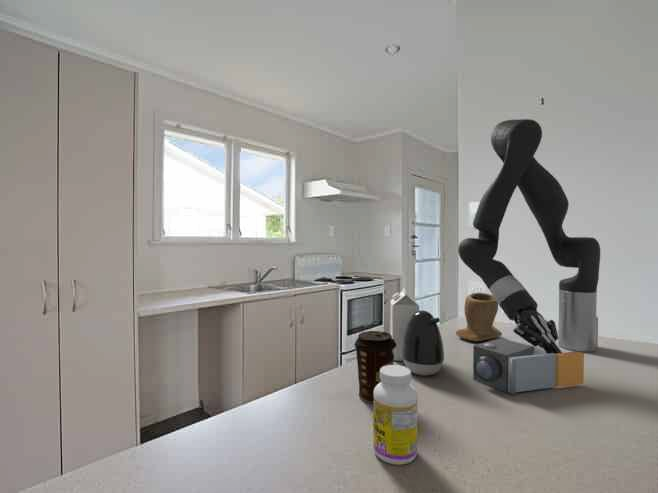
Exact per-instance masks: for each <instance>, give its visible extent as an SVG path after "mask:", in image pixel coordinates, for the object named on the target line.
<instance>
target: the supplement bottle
mask: <svg viewBox="0 0 658 493" xmlns="http://www.w3.org/2000/svg"><path fill="white" fill-rule="evenodd" d="M380 379H381V382H380V383H379V384H377V385H376V387H375V389H374V403H373V409H372V412H373V418H372V419H373V421H372V422H373V425H372V426H373V429H372V430H373V431H372V432H373V433H372V434H373V435H372V437H373V438H372V439H373V440H372V441H373V442H372V445H373V451H374V453H375V455H376V456H377V457H378V459H380V460H381V461H383V462H385V463H387V464H389V465H397V466H399V465H400V466H401V465H406V464H409V463H411V462H412V461H414V460H415V459H416V457H417V455H418V403H419V402H418V400H419V399H418V397H419V395H418V392H417V390H416V388H415V387H414V386H413V385H412V384H411V381H412V372H411V371H410V370H409V369H408V368H407V367H406V366H405V365H399V364H393V365H387V366H384V367H382V368H381V369H380Z"/></svg>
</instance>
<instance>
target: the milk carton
mask: <svg viewBox="0 0 658 493" xmlns="http://www.w3.org/2000/svg"><path fill="white" fill-rule="evenodd" d="M391 297H392V299H391V300H390V307H389V308H390V312H389V314H390V316H389V317H390V318H389V319H390V320H389V322H390V326H389V329H390V330H389V331H390V332H389V334H391V336H392V339H394V341H395V343H396V345H397V346H396V347H395V348H394V349H393V354H394V361H399V362H400V361H401V362H404V361H403V358H402V345H403V339H404V335H405V331H406V328H407V325H408V323H409V321H410V319H411V317H412V316H413V314H414V313H416V312H417V311H420V305H419V303H417V301H415V299H413V298H412V297H411V296H410V295H409V294H407V289H405V287H404V286H403V287H402V291H400V293H399V292H396V293H394V294H393V295H392V296H391Z"/></svg>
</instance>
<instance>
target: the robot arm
mask: <svg viewBox="0 0 658 493" xmlns="http://www.w3.org/2000/svg"><path fill="white" fill-rule="evenodd" d="M490 137H491V138H490V142H491V146H492V149H493V150H494V152H495V154H496V155H497V156H498V157H499V159H500V160H501V162H502V166H501V168H500V171H499V173H498V174H497V176H496V177H495V179H494V180H493V182H492V183H491V184H490V185H489V187H488V188H487V190H486V191H485V192H484V194H483V195H482V197H481V199H480V201H479V203H478V206H477V210H476V212H475V215H474V218H473V222H472V225H473V228H474V229H476V230H478V237H477V238H474V237H469V238H468V237H467V238H465V239H463V240H461V241H460V243H459V244H458V256H459V257H460V259H461V261H462V262H463V264H465V265H466V266H467V267H468V268H469V269H470V270H471V271H472V272H473V273H474V274H475V275H476V276H478V277H479V278H480V279H481V280H482V281H483V283H484V285H485V286H486V287H487V289H488V290H489V291H490V293H491V295H493V297H494V299H495V300H496V302H497V303H498V307H500V308H501V310H502V311H503V313H504V314H505V315H506V317H507V318H508V320H510V321H514V324H516V327H515V328H514V329H512V330H513V332H514V333H515V334H516V335H517V336H519V337H520V338H522V339H523V340H524V341H525V342H527V343H529V344H530V345H531V346H533V347H534V348H536V347H539V348H541V349H543V350H544V351H545V354H548V353H554V354H557V353H563V352H562V350H561V349H560V348H559V347H561V348H564V349H565V350H566V349H567V350H569V351H570V350H572V351H574V352H577V351H578V352H582V353H584V352H587V353H590V352H591V353H592V352H595V351H596V349H597V350H598V348H599V347H598V346H599V344H598V343H599V342H598V341H599V317H598V316H597V296H598V295H597V292H598V283H599V277H600V276H599V275H600V263H601V246H600V243H599V241H598V240H597V239H596V238H595V237H589V236H587V237H585V236H582V237H581V236H577V237H571V236H568V235H567V234H566V233H565V231H564V228H563V223H564V220H565V218H566V216H567V213H568V210H569V203H570V202H569V199H568V197H567V195H566V193H565V191H564V189H563V187H562V186H561V183H560V182H559V181H558V179H556V177H555V176H554V175H552V173H551V172H550V171H549V170H547V169H546V168H545V167H544V166H543V165H542V164H540V162H539V161H538V160H537V159H536V158H535V154H536V153H537V150H538V149H539V146H540V144H541V141H542V139H543V131H542V127H541V125H540V123H539V122H538V121H536V120H534V119H529V118H528V119H527V118H526V119H525V118H522V119H507V120H503V121H501V122H498V123H497V124H496V125H495V126H494V128H493V129H492V131H491V135H490ZM517 187H518V189H519V191H520V193H521V194H522V196H523V198H524V201H525V203H526V204H527V206H528V208H529V210H530V212H531V213H532V215H533V217H534V219H536V222H537V224H538V226H539V227H540V229H541V231H542V232H541V233H542V234H543V235H544V238H545V240H546V243H547V246H548V248H549V250H550V254H551V255H552V257H553V260H554V261H555V262H556V264H557V265H558V266H560V267H563V268H573V269H574V268H575V269H578V270H577V273H576V275H573V276H572V277H568V278H564V279H561V280H559V283H558V329H557V326H556V322H555V321H554V319H550V320H547V319H545V318H544V316H543V315H542V314H541V313H540V312H539V311H538V309H537V308H538V307H539V306H538V303H537V301H536V300H535V299H534V297H532V295H531V294H530V293H529V291H528V290H527V289H526V288H525V286H524V285H523V284H522V283H521V281H520V280H518V279H517V278H516V276H514V274H513V273H512V271H511V270H510V269H509V268H508V267H507V266H506V265H505V264H504V263H503V262H502V261H499V260H496V259H494V258H495V257H496V255H497V253H498V252H497V251H498V249H499V238H500V227H501V226H502V225H501V224H502V223H503V219H504V217H505V214H506V211H507V209H508V206H509V203H510V202H511V199H512V196H513V194H514V192H515V190H516V188H517ZM557 330H558V331H557ZM556 341H558V342H557V344H558V345H557V344H556ZM558 346H559V347H558Z"/></svg>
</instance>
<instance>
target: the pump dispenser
mask: <svg viewBox="0 0 658 493" xmlns="http://www.w3.org/2000/svg"><path fill="white" fill-rule="evenodd" d="M439 322H440V318H439V317H434V316H433V314H431V312H429V311H427V310H419V311H417V312H416V313H414V314H413V316H412V317H411V319H410V321H409V323H408V325H407V328H406V331H405V335H404V339H403V345H402V358H403V361H402V362H403V364H404V367H406V368H408V369H409V370H410V371H411V374H412V373H413V374H415V375H418V376H422V377H424V376H426V377H427V376H432V375H434V374H436V373H438V372H439V371H440V369H441V368H442V365H443V363H444V361H445V349H444V343H443V338H442V335H441V331H440V327H439V325H438V323H439Z"/></svg>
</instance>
